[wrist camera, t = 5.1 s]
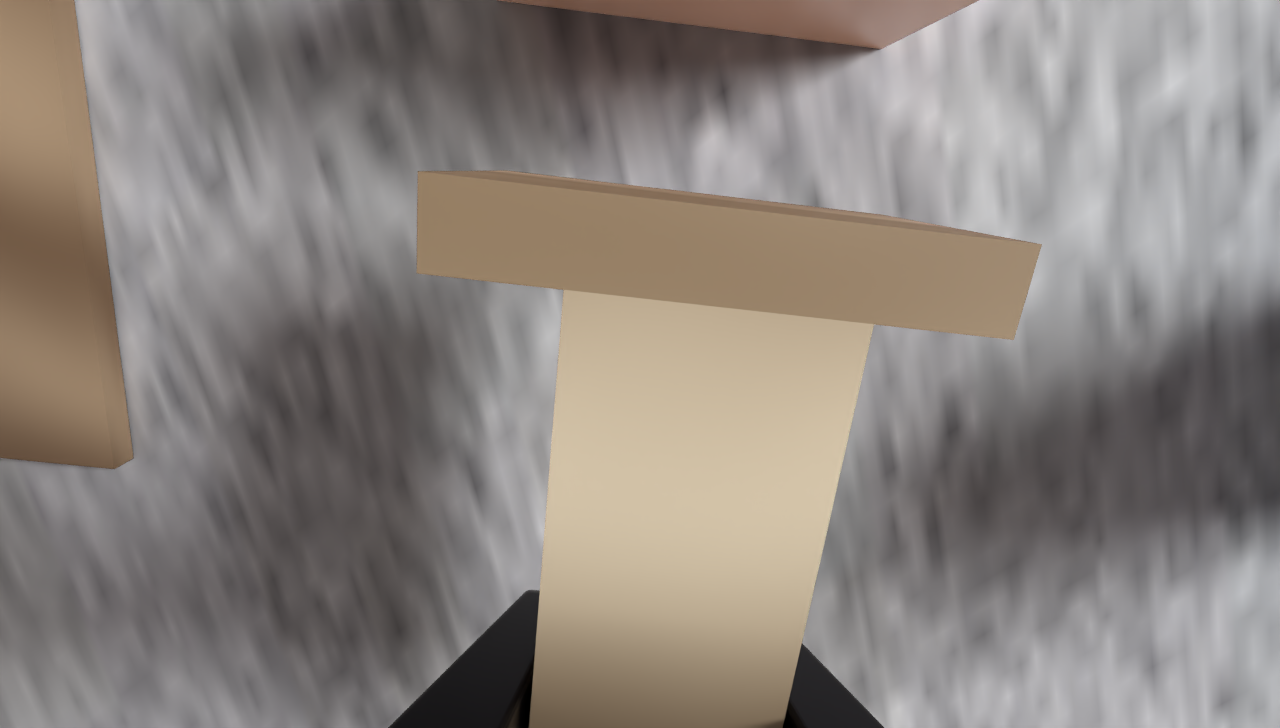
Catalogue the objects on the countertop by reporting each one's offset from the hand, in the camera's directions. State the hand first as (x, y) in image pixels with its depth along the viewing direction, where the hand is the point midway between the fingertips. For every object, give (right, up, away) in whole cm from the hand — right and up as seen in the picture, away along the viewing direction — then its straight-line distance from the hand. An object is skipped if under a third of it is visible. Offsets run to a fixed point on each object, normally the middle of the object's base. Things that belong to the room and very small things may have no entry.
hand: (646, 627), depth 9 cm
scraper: (0, 0, +1) cm, 1 cm away
